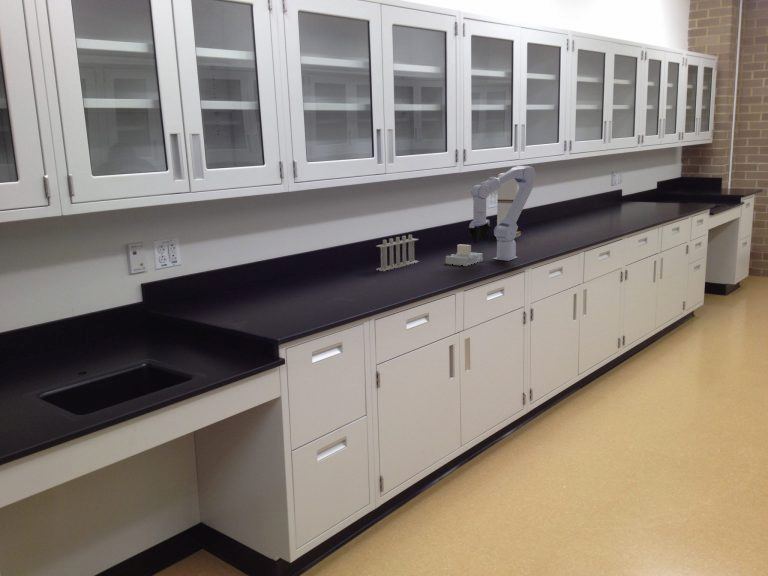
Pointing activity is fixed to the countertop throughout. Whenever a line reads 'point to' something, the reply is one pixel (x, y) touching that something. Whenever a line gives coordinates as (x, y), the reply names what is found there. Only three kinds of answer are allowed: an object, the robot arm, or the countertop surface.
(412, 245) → the test tube rack
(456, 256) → the drying rack
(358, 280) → the countertop surface
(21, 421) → the countertop surface
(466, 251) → the cream tile
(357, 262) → the countertop surface
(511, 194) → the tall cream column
